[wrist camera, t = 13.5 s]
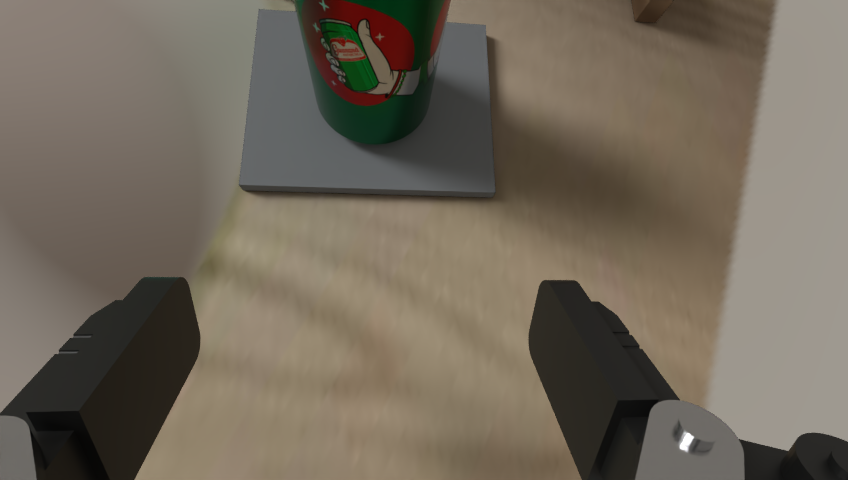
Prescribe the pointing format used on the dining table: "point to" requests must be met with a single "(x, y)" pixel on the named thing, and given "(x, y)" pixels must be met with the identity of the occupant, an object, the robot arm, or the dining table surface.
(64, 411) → the robot arm
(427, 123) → the mat
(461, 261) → the dining table surface
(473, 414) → the dining table surface
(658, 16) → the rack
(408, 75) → the soda can
